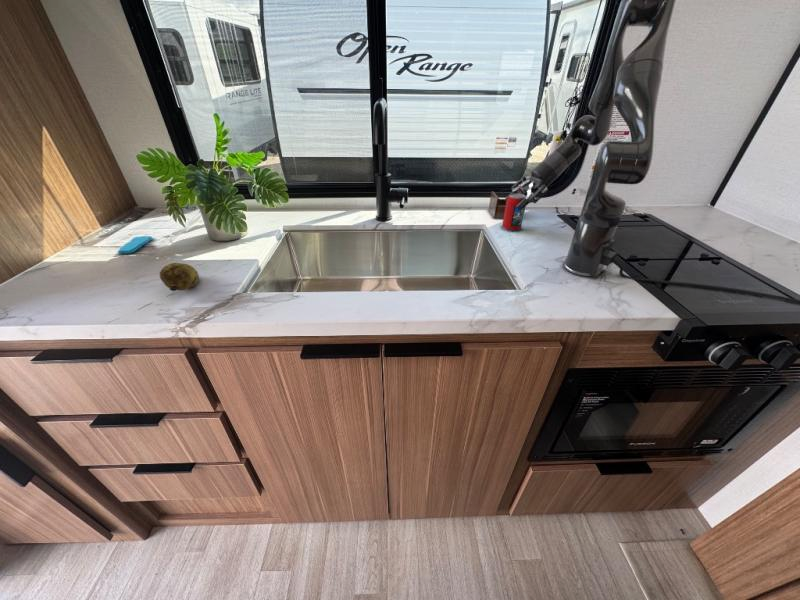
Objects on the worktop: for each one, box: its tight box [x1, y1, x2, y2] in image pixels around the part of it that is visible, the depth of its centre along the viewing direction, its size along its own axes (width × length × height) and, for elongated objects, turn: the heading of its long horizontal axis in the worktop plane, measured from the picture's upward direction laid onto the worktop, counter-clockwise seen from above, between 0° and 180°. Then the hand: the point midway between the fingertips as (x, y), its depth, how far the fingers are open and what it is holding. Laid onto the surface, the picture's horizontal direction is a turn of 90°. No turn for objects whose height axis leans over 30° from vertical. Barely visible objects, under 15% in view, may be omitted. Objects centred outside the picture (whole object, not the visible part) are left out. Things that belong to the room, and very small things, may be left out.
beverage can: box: [501, 193, 527, 232], centre depth 116 cm, size 7×7×12 cm
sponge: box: [117, 235, 153, 255], centre depth 105 cm, size 2×12×6 cm
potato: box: [159, 262, 200, 292], centre depth 82 cm, size 8×13×8 cm, turn 6°
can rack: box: [488, 191, 506, 220], centre depth 129 cm, size 10×10×8 cm
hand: (512, 205), depth 114 cm, fingers open, 8 cm apart
